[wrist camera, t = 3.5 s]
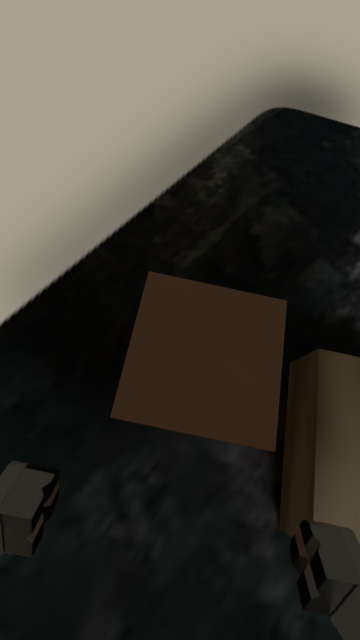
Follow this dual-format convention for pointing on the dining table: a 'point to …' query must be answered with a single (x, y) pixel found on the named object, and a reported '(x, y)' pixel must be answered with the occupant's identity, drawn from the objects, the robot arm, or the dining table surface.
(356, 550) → the robot arm
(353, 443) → the oak base block
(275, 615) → the dining table surface
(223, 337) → the reddish brown block
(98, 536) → the dining table surface
